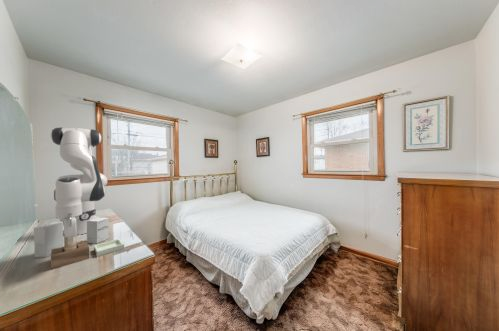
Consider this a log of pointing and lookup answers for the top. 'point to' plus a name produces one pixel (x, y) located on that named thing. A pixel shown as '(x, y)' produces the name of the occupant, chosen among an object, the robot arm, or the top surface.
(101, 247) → the sage tray
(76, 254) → the walnut hole block
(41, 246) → the skincare box
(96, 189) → the robot arm
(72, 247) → the beech dowel
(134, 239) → the top surface
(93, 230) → the supplement box
